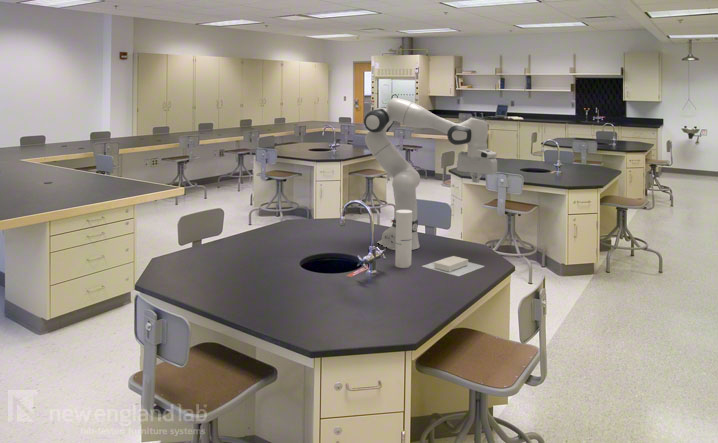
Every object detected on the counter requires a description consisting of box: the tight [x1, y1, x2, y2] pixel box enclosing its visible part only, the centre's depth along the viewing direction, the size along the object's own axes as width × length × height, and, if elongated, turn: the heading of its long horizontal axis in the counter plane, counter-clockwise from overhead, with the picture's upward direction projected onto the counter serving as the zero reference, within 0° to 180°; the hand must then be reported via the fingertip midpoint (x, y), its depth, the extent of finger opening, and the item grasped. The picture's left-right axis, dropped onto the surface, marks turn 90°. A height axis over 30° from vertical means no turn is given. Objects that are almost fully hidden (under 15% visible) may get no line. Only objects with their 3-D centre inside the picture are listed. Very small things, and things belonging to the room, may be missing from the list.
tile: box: [433, 255, 469, 272], centre depth 249 cm, size 8×3×14 cm
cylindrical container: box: [394, 210, 412, 269], centre depth 251 cm, size 7×7×25 cm
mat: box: [421, 256, 486, 277], centre depth 250 cm, size 20×20×1 cm
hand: (475, 182), depth 263 cm, fingers closed
